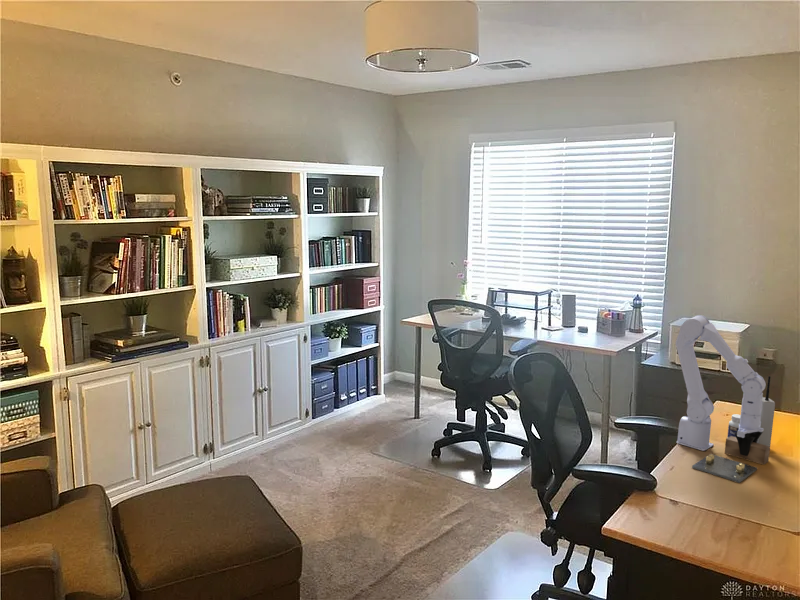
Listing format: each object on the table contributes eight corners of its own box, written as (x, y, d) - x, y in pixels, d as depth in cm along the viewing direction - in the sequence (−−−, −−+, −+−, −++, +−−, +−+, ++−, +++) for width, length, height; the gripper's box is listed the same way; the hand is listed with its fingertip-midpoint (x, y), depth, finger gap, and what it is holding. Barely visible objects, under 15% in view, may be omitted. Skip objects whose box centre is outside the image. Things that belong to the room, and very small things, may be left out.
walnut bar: (724, 453, 215) (726, 438, 214) (729, 450, 217) (730, 435, 217) (763, 464, 206) (765, 449, 205) (768, 461, 209) (770, 446, 208)
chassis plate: (692, 467, 203) (692, 459, 202) (710, 456, 212) (711, 447, 212) (739, 483, 193) (740, 474, 192) (756, 469, 202) (757, 461, 202)
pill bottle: (726, 444, 222) (729, 417, 221) (727, 439, 227) (729, 412, 225) (744, 447, 220) (747, 419, 218) (744, 442, 225) (747, 415, 223)
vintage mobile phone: (763, 444, 223) (771, 373, 219) (769, 450, 218) (778, 378, 214) (751, 443, 223) (759, 373, 219) (758, 449, 218) (766, 377, 214)
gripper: (755, 421, 201) (751, 462, 204) (772, 411, 211) (767, 450, 213) (732, 415, 207) (727, 456, 209) (749, 405, 216) (745, 444, 219)
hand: (746, 453), depth 211 cm, fingers closed on walnut bar, 4 cm apart
